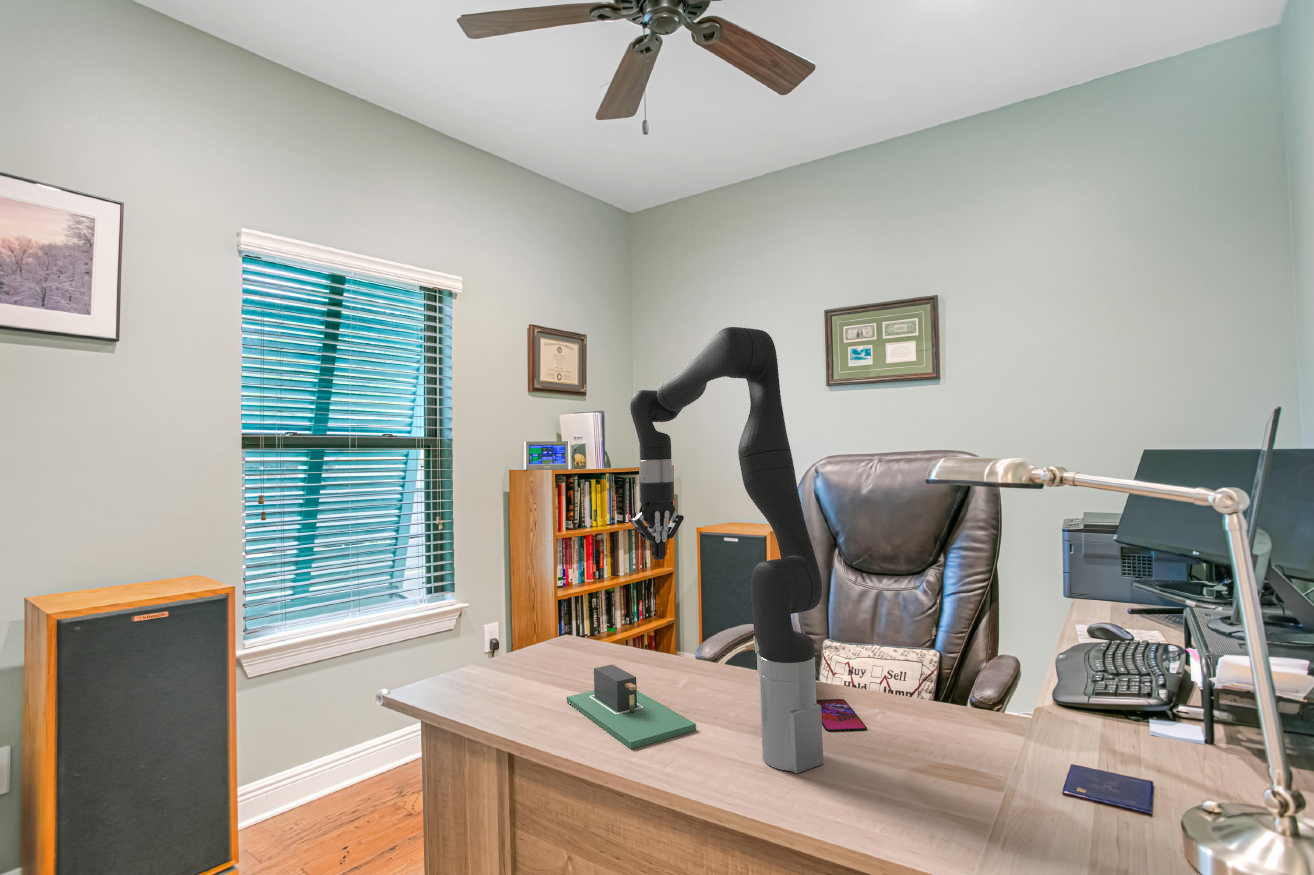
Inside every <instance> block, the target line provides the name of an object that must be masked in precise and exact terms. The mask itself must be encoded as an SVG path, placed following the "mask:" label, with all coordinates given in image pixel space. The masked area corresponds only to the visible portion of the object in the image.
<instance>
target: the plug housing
mask: <svg viewBox="0 0 1314 875" xmlns="http://www.w3.org/2000/svg"><path fill="white" fill-rule="evenodd" d="M593 685H594V686H593V687H594V688H593V691H594V696H595V698H597V699H598V700H600V701H601V702H603V703H604V704H606V705H607V706H609V707H611V708H612V709H614V710H615V711H617V712H620V711H624V710H628V709H629V694H634V706H635V708H636V707H637V691H638V686H637V677H636V676H635V675H633V674H631V673H629V672H628V671H625V670H624V669H622V668H620V667H618V666H616V665H615V664H608V665H604V666H598V667H593Z"/></svg>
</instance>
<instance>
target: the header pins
mask: <svg viewBox="0 0 1314 875" xmlns="http://www.w3.org/2000/svg"><path fill="white" fill-rule="evenodd" d="M629 709H630V713H635V706H634V694H629Z"/></svg>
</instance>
